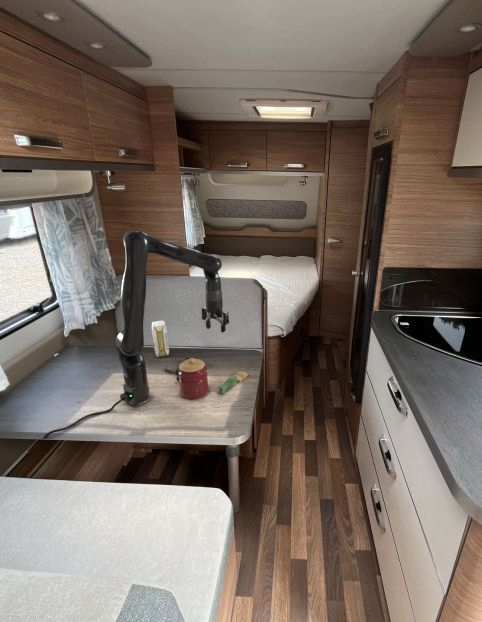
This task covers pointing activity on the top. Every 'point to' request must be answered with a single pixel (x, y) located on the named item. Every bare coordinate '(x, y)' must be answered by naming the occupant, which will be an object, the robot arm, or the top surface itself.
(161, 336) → the juice carton
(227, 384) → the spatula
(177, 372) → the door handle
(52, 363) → the top surface
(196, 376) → the kitchen canister
